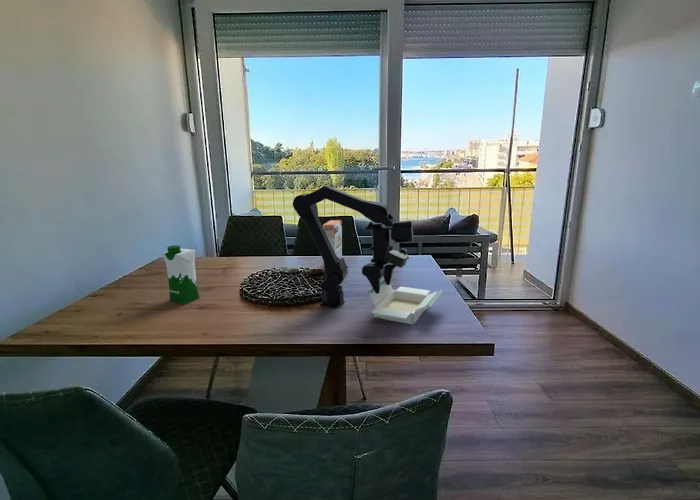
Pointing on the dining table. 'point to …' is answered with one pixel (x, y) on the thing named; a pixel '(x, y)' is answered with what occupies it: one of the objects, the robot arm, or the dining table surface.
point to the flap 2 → (428, 301)
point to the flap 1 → (383, 292)
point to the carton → (401, 305)
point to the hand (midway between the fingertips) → (383, 289)
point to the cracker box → (334, 236)
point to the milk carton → (181, 274)
